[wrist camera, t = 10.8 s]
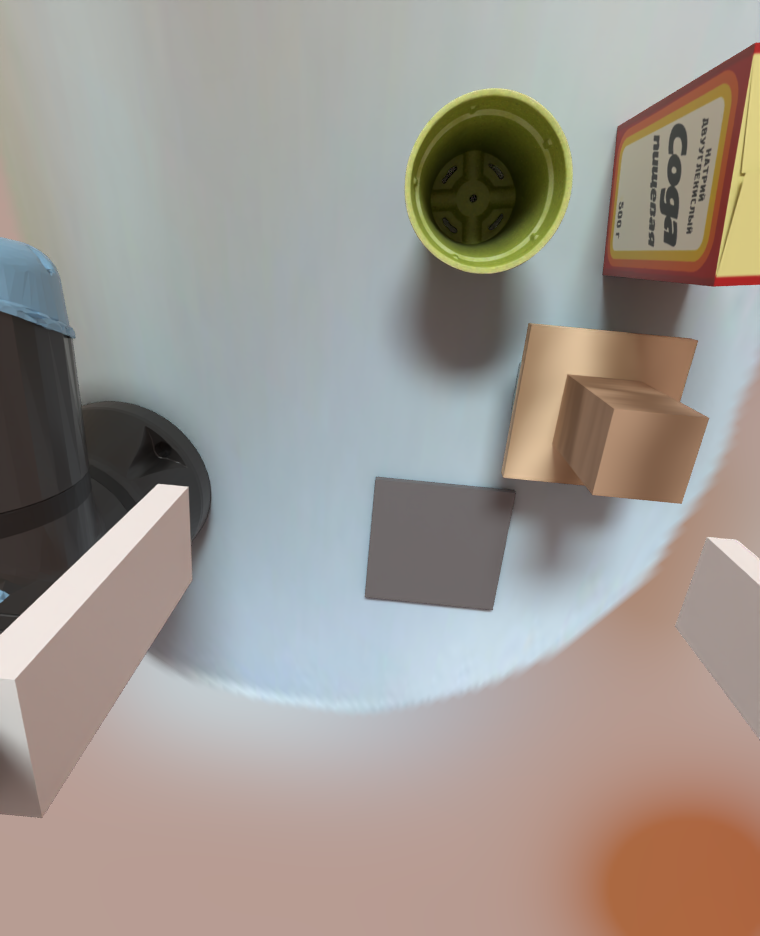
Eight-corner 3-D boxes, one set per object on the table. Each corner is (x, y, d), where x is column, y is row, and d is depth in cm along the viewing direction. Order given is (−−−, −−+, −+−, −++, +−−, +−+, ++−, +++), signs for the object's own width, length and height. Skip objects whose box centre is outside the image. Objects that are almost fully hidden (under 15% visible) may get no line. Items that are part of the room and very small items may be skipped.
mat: (365, 593, 51) (364, 597, 51) (375, 476, 47) (375, 479, 46) (491, 606, 51) (492, 609, 51) (514, 490, 47) (515, 493, 46)
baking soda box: (617, 126, 37) (761, 39, 22) (717, 120, 36) (932, 27, 21) (602, 274, 40) (717, 286, 25) (693, 271, 40) (864, 280, 25)
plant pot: (474, 297, 41) (490, 307, 33) (379, 209, 39) (371, 198, 31) (566, 190, 38) (608, 173, 30) (468, 91, 36) (485, 44, 28)
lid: (501, 472, 41) (528, 536, 32) (528, 323, 37) (569, 346, 28) (647, 486, 41) (718, 555, 31) (690, 338, 37) (787, 366, 27)
